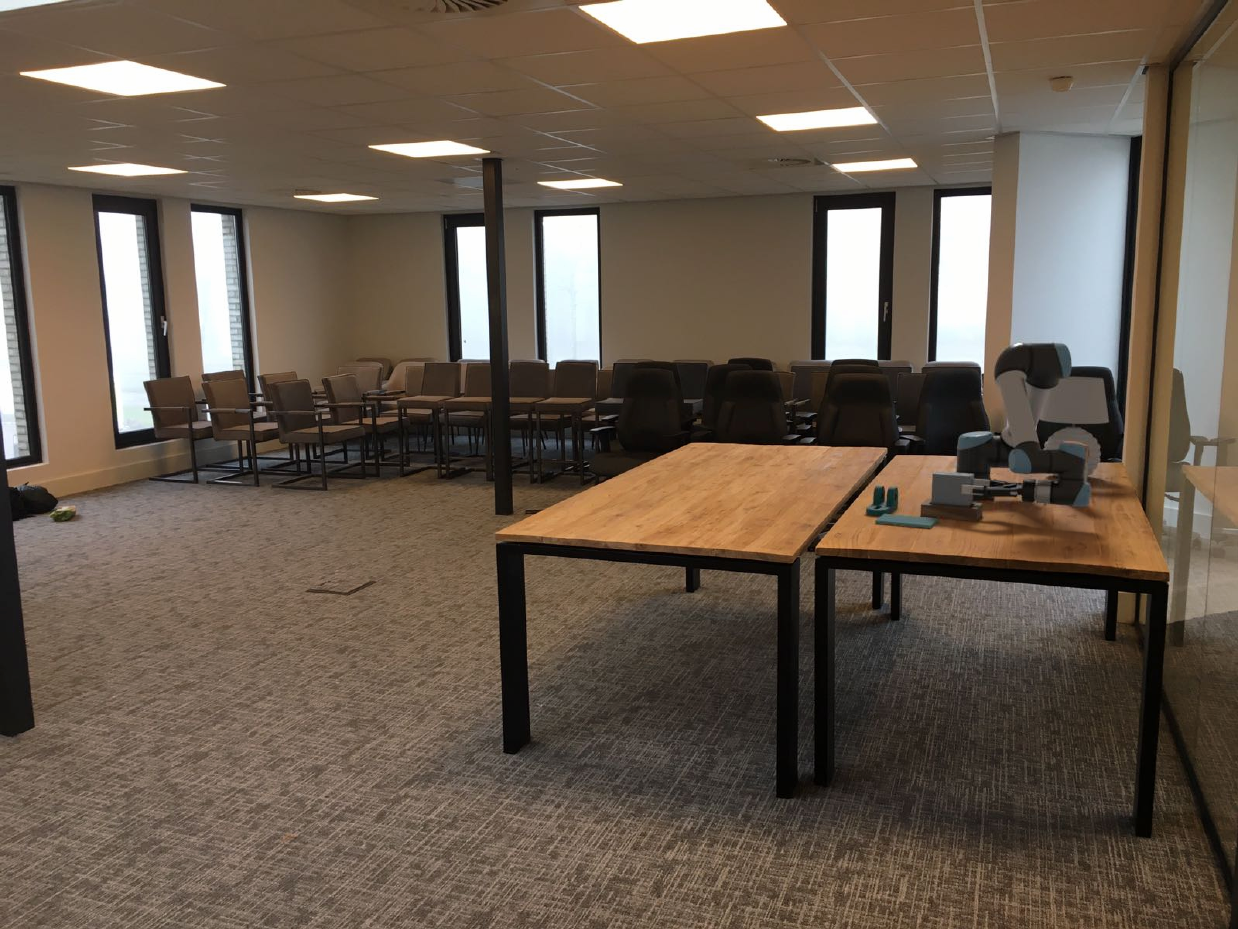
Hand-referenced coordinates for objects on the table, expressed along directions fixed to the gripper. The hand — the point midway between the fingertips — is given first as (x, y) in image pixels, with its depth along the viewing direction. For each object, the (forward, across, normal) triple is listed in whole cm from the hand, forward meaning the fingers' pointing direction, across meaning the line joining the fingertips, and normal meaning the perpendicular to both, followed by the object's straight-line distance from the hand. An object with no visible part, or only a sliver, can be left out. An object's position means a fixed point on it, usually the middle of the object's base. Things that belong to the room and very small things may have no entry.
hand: (965, 486), depth 322 cm
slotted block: (+4, +1, -10) cm, 11 cm away
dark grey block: (+4, +1, -10) cm, 11 cm away
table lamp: (-25, +104, -11) cm, 107 cm away
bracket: (+26, -2, -11) cm, 29 cm away
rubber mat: (+15, -17, -10) cm, 25 cm away
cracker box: (-30, +45, -11) cm, 55 cm away
